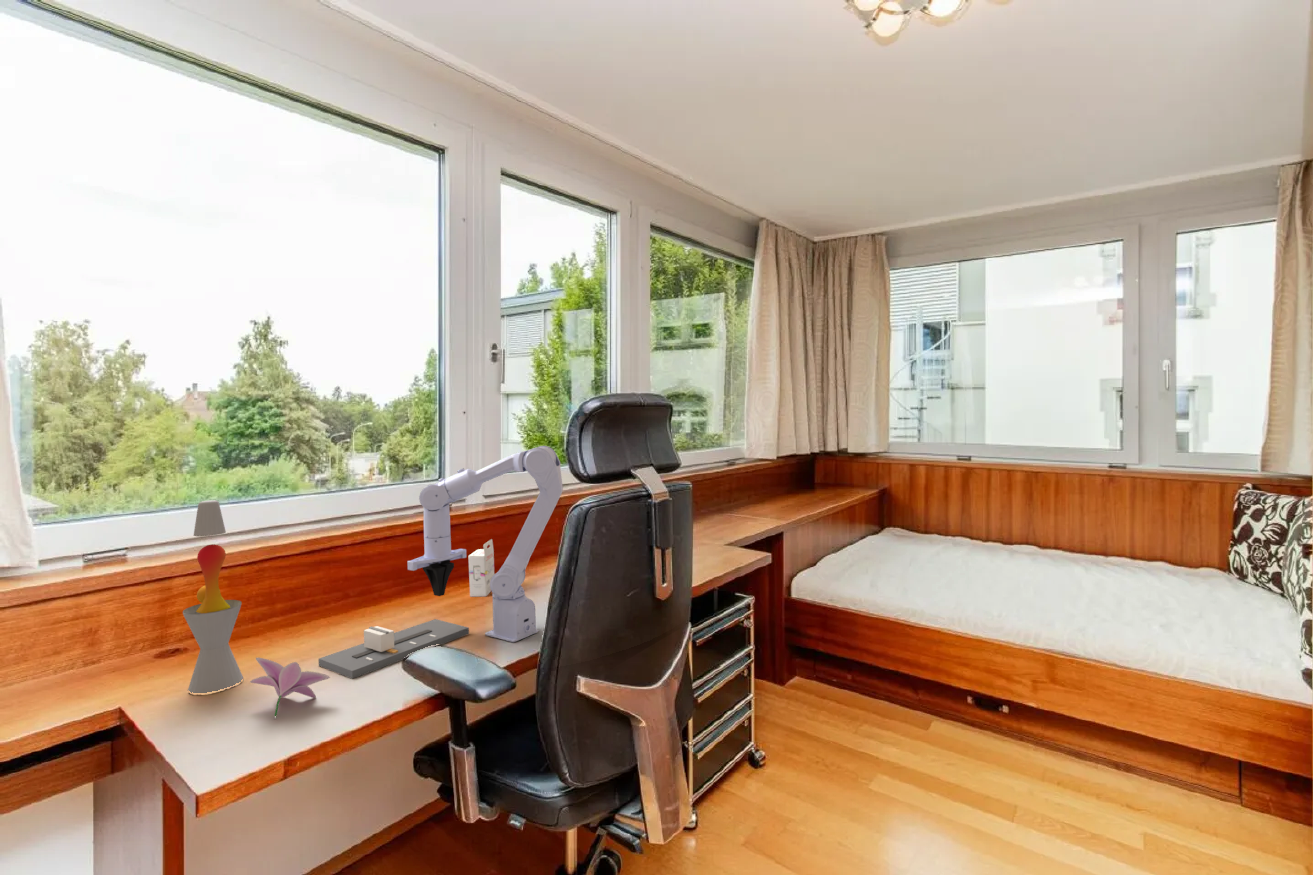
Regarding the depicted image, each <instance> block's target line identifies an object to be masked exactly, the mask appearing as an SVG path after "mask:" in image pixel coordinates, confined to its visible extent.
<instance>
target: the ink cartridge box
mask: <svg viewBox="0 0 1313 875" xmlns="http://www.w3.org/2000/svg"><path fill="white" fill-rule="evenodd" d="M482 547H483V548H480V549H479V548H478V549H475V551H473V552H472V553H471V554H469V555H468V577H469V578H468V579H469V597H470V598H471V597H472V598H473V597H487V596H488V595H489V594H490V593H492V591H491V588H490V581H491V579H492V577H493V575H494V574H495V556H494V554H495V552H494V551H495V549H494V542H493V539H492V538H491V539H489V540H488V541H487V542H485V543H484V544H483V546H482Z"/></svg>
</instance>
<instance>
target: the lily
mask: <svg viewBox="0 0 1313 875" xmlns="http://www.w3.org/2000/svg"><path fill="white" fill-rule="evenodd" d="M255 660H256V662H257V663H258V664H259V665H260V667H261V668H262V669H263V671H264V673H265V674H266V675H263V676H259V677H256V678H253V679H252V680H250V681H249V683H251V684H258V685H264V686H269V687H274V690H275V693H276V696H277V697H278V699H277V702H276V707H275V711H274V716H276V715H278V710H279V709H278V708H279V705H280V701H281V697H283V698H286V697H287V696H289V695H291V694H293V693H298V694H301V695H304V696H307V697H309V698H312V699H317V697H316V693H315V692H314V691H313V690H312V688H311V687H310V686H311V685H313V684H315V683H319V682H322V681H325V680H329V679H330V678H331V676H330V675H327V674H324V673H320V672H316V671H307V670H306V671H302V669H301V665H300V664H299V663H298V662H296V661H294V662H291V663H290V662H289V663H288V664H287V665H285V666H283V665H282V664H280V663H278V662H276V661H274V660H271V659H268V658H263V657H255ZM276 717H277V716H276Z"/></svg>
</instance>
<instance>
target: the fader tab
mask: <svg viewBox="0 0 1313 875" xmlns="http://www.w3.org/2000/svg"><path fill="white" fill-rule="evenodd" d="M394 633H395V631H394V630H392V629H389V628H386V627H382V626H378V625H376V626H369V627H368V628H367V629H364V630H363V643H364V647H367V648H370V649H373V650H376V651H379V652H383V651H386V650H388V649H391V648H394Z"/></svg>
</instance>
